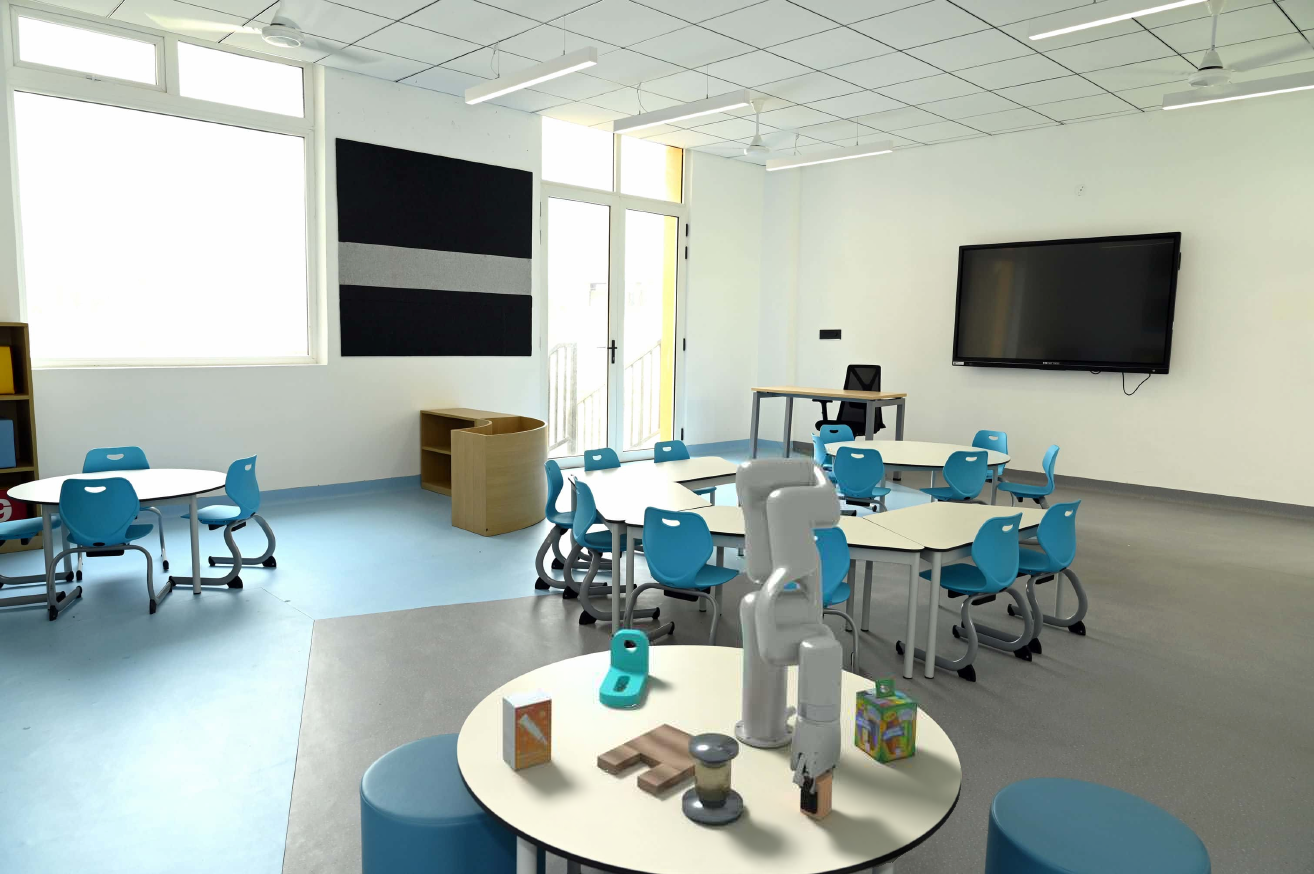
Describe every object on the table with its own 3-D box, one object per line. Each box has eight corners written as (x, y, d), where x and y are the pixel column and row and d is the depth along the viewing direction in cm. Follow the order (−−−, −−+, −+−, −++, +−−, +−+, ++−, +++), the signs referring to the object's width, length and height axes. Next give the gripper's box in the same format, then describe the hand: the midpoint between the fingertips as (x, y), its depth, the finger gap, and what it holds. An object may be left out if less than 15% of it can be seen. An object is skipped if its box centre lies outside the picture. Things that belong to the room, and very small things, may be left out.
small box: (514, 771, 158) (514, 707, 157) (502, 758, 164) (501, 696, 162) (552, 760, 163) (552, 698, 162) (538, 748, 168) (538, 687, 167)
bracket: (612, 672, 209) (612, 628, 208) (648, 675, 208) (649, 630, 206) (596, 706, 189) (596, 657, 188) (636, 708, 188) (636, 659, 187)
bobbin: (708, 785, 154) (709, 724, 153) (755, 807, 147) (757, 744, 146) (669, 808, 146) (670, 744, 145) (717, 833, 139) (718, 766, 138)
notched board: (665, 732, 176) (665, 723, 176) (723, 757, 165) (723, 748, 165) (597, 765, 161) (597, 756, 161) (656, 796, 150) (656, 785, 150)
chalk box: (880, 764, 163) (883, 693, 162) (852, 744, 172) (855, 676, 170) (917, 755, 167) (920, 686, 165) (887, 736, 175) (890, 670, 174)
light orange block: (812, 802, 149) (813, 766, 148) (831, 810, 146) (832, 773, 145) (800, 811, 146) (801, 774, 145) (819, 820, 143) (820, 782, 142)
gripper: (825, 687, 153) (822, 780, 154) (774, 715, 140) (771, 816, 142) (861, 699, 148) (857, 795, 149) (811, 729, 135) (808, 833, 137)
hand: (815, 804), depth 146 cm, fingers closed on light orange block, 3 cm apart
